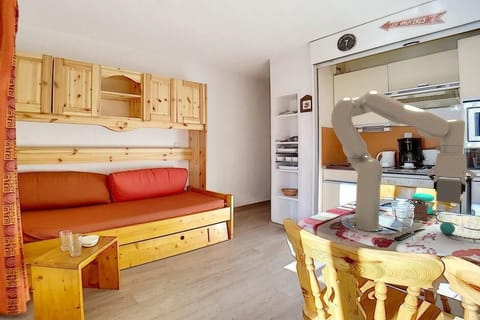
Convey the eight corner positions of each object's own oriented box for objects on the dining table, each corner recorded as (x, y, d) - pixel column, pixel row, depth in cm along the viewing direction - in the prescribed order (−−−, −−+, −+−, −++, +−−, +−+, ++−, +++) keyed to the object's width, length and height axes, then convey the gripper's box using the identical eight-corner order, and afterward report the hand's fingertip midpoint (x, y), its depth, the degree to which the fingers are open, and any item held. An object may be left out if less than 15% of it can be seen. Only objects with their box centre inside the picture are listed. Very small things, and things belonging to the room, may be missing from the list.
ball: (446, 226, 115) (445, 236, 113) (437, 220, 115) (436, 230, 113) (458, 225, 111) (457, 236, 109) (449, 219, 110) (447, 229, 108)
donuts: (414, 195, 143) (410, 192, 152) (413, 213, 143) (410, 209, 153) (436, 197, 139) (432, 193, 148) (435, 215, 139) (430, 211, 148)
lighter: (427, 218, 134) (428, 199, 133) (427, 220, 131) (428, 200, 130) (408, 216, 138) (409, 197, 138) (408, 217, 136) (409, 198, 135)
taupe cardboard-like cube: (460, 204, 105) (461, 182, 104) (436, 201, 110) (437, 180, 109) (460, 200, 111) (461, 179, 110) (437, 198, 116) (438, 178, 115)
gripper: (424, 149, 112) (422, 190, 113) (480, 150, 100) (477, 196, 102) (426, 149, 117) (424, 188, 119) (479, 150, 106) (476, 193, 107)
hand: (448, 192), depth 110 cm, fingers closed on taupe cardboard-like cube, 7 cm apart
